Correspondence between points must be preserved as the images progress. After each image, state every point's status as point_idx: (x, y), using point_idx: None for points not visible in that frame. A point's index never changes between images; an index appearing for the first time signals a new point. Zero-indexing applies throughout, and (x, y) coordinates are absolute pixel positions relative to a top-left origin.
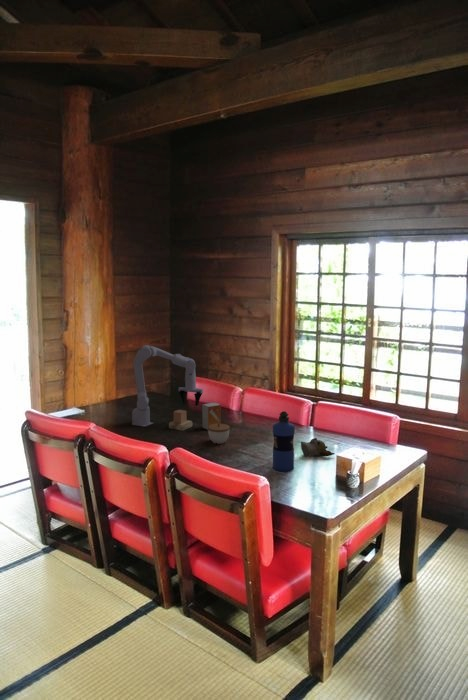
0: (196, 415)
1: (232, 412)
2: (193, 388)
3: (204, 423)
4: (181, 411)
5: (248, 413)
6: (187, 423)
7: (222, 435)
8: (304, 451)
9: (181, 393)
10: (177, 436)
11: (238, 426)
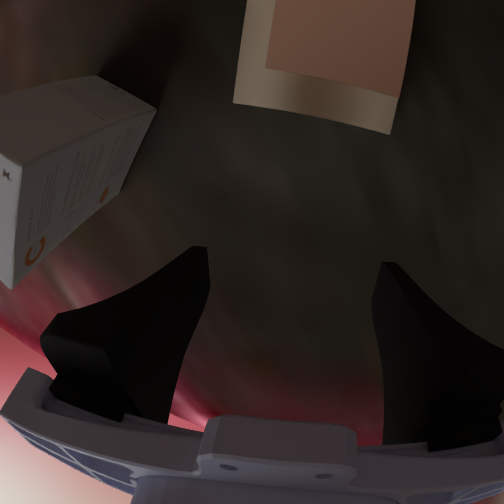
0: (330, 338)
1: (183, 395)
2: (133, 501)
3: (112, 98)
4: (316, 12)
5: None
6: (243, 28)
7: None
8: None
9: (478, 363)
10: None
11: None
